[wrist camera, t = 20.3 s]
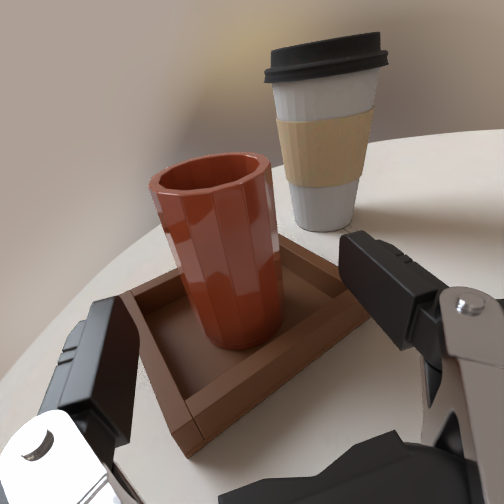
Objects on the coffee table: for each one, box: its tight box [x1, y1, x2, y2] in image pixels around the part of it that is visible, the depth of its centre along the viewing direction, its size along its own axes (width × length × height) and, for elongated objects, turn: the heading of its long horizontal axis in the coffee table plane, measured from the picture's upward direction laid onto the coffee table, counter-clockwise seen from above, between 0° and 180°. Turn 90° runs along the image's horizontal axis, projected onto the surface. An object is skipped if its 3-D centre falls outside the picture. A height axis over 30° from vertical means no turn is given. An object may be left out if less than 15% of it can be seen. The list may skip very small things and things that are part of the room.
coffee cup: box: [264, 32, 389, 232], centre depth 25 cm, size 9×9×15 cm
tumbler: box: [148, 152, 285, 350], centre depth 16 cm, size 6×6×10 cm
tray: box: [118, 234, 371, 459], centre depth 19 cm, size 13×11×2 cm
